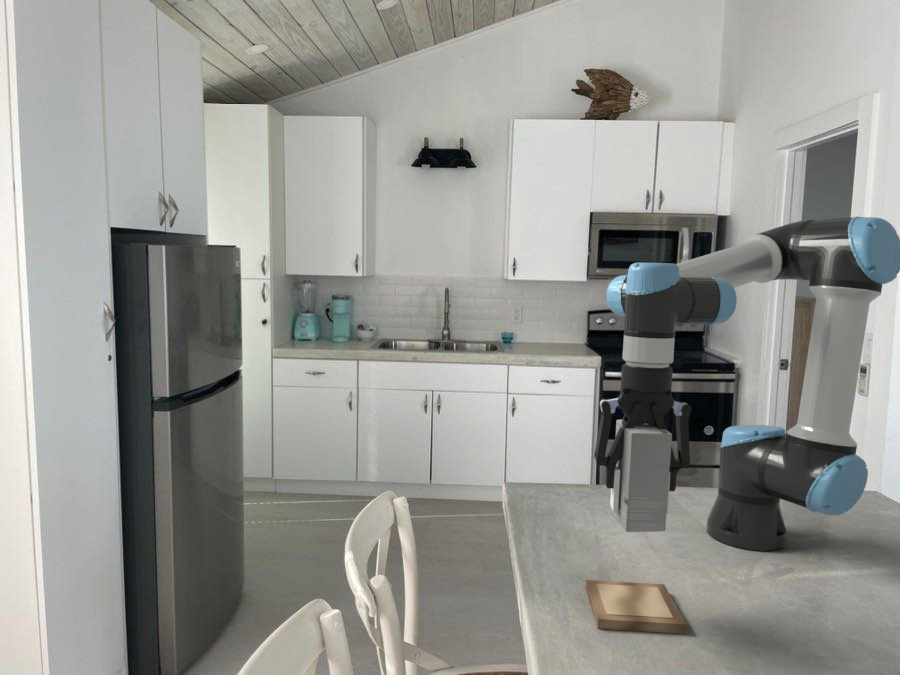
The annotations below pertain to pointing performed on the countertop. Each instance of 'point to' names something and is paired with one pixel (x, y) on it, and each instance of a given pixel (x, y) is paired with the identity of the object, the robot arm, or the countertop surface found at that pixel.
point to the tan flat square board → (634, 607)
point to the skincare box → (643, 478)
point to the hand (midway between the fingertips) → (638, 509)
